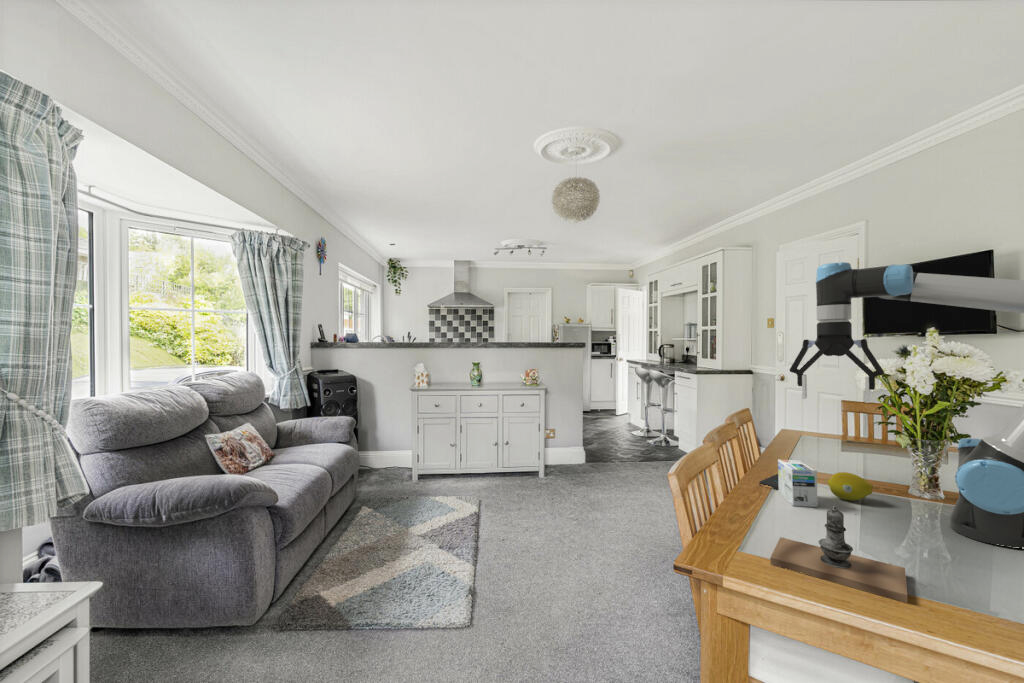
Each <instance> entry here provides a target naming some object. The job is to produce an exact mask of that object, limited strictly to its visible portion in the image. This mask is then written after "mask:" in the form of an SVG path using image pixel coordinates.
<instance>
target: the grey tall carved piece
mask: <svg viewBox="0 0 1024 683" xmlns="http://www.w3.org/2000/svg"><path fill="white" fill-rule="evenodd" d="M844 518H845V517H844V513H843V512H841V510H838V508H837V506H836V505H833V506H832V508H831V509H827V511H826V523H825V524H824V527H825V529H826V530H825V531H826V532H825V533H826V536H825V538H821V539H819V540H818V541H817V542H818V545H820V546H819V547H821V550H822V552H823V553H824V554H825V555H823V556H821V557H820V559H821V561H822V562H824V563H825V564H827V565H830V566H832V567H836V568H842V569H847V568H850V567H851V563H850V562H849V561H847V560H846V559H847V558H849V557H850V555H852V552H853V551H854V547H852V546H851V544H849V543H846V540H845V532H846V530H847V528H845V527H844V525H845V523H844V522H845V521H844V520H845V519H844Z"/></svg>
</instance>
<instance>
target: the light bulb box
mask: <svg viewBox="0 0 1024 683" xmlns="http://www.w3.org/2000/svg"><path fill="white" fill-rule="evenodd" d="M777 466H778V467H777V474H778V481H779V490H778V494H779V495H780V496H781V497H782V498H784V499H785V500H786V501H787V502H788V504H790V505H791V506H792V507H809V508H818V507H819V506H818V504H819V503H818V471H817V470H816V469H815V468H813V467H811V466H809V465H808V464H806V463H805V462H803V461H801V460H794V459H793V460H792V459H777Z"/></svg>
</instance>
